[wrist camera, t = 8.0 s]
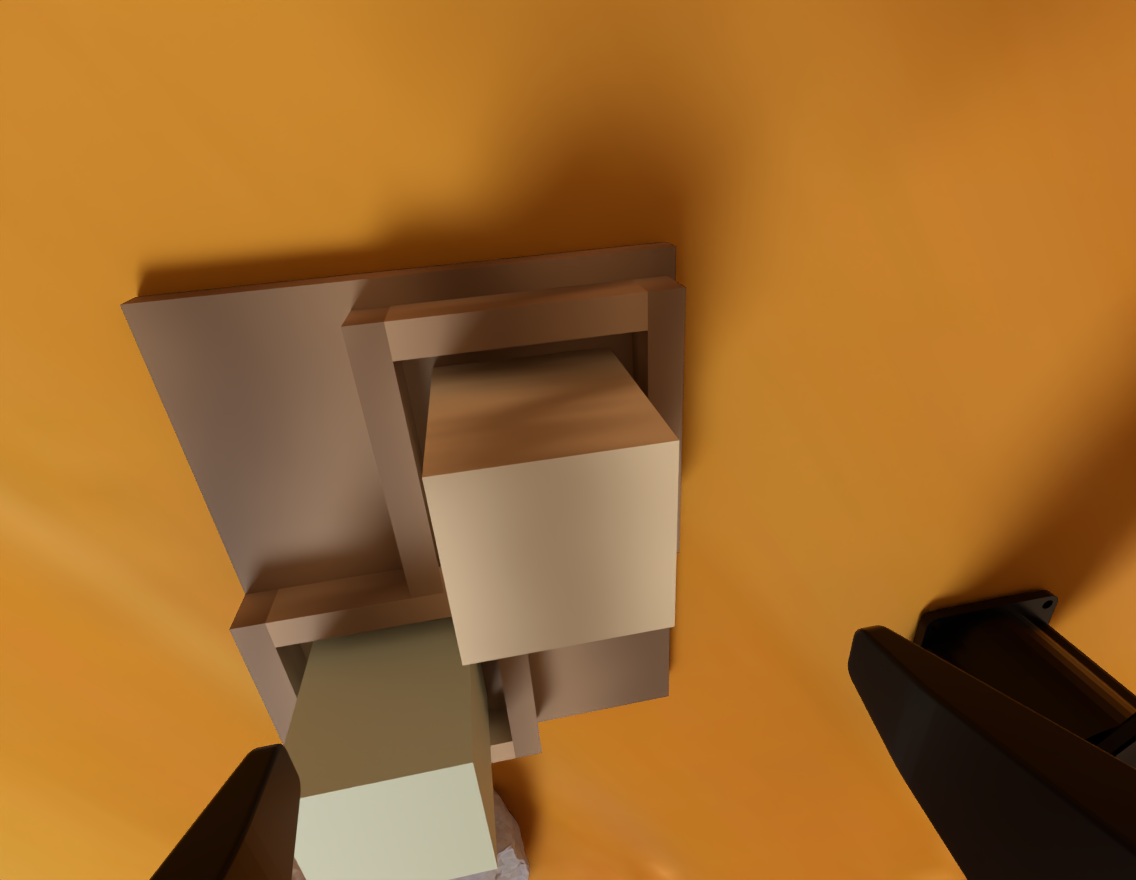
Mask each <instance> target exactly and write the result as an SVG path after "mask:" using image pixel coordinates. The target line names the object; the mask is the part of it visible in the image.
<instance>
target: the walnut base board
mask: <svg viewBox="0 0 1136 880" xmlns="http://www.w3.org/2000/svg"><path fill="white" fill-rule="evenodd" d="M675 275H676V246H674V245H672V244H670V243H668V242H661V243H652V244H642V245H633V246H623V247H613V248H604V249H594V250H584V251H575V252H565V253H555V254H546V255H536V256H527V257H517V258H507V259H498V260H488V261H478V262H469V263H459V264H449V265H440V266H430V267H420V268H411V269H401V270H392V271H382V272H372V273H363V274H353V275H343V276H334V277H324V278H314V279H305V280H295V281H286V282H276V283H266V284H257V285H247V286H237V287H228V288H218V289H208V290H199V291H189V292H179V293H170V294H160V295H151V296H141V297H135V298H133V299H131V300H129V301H127V302H125V303H123V304H121V305H120V306H121V308H122V310H123V313H124V315H125V317H126V320H127V322H128V324H129V327H130V329H131V331H132V333H133V336H134V338H135V340H136V343H137V345H138V347H139V350H140V352H141V354H142V357H143V359H144V361H145V363H146V366H147V368H148V370H149V373H150V375H151V377H152V380H153V382H154V384H155V387H156V389H157V391H158V393H159V396H160V398H161V400H162V403H163V405H164V407H165V410H166V412H167V414H168V417H169V419H170V421H171V424H172V426H173V428H174V430H175V433H176V435H177V437H178V440H179V442H180V444H181V447H182V449H183V451H184V454H185V456H186V458H187V460H188V463H189V465H190V467H191V470H192V472H193V474H194V477H195V479H196V481H197V484H198V486H199V488H200V490H201V493H202V495H203V497H204V500H205V502H206V504H207V507H208V509H209V511H210V514H211V516H212V518H213V520H214V523H215V525H216V527H217V530H218V532H219V534H220V537H221V539H222V541H223V544H224V546H225V548H226V551H227V553H228V555H229V557H230V560H231V562H232V564H233V567H234V569H235V571H236V574H237V576H238V578H239V581H240V583H241V585H242V587H243V590H244V592H245V594H246V595H245V597H244V599H243V601H242V603H241V606H240V608H239V610H238V612H237V614H236V616H235V619H234V621H233V623H232V625H231V627H230V629H229V630H230V632H231V634H232V636H233V638H234V640H235V642H236V645H237V647H238V649H239V651H240V653H241V655H242V657H243V659H244V662H245V664H246V666H247V668H248V670H249V672H250V674H251V677H252V679H253V681H254V683H255V685H256V687H257V689H258V692H259V694H260V696H261V698H262V700H263V702H264V704H265V707H266V709H267V711H268V713H269V715H270V717H271V719H272V722H273V724H274V726H275V728H276V730H277V732H278V734H279V737H280V739H281V741H282V743H283V745H284V743H285V739H286V736H287V732H288V729H289V725H290V722H291V718H292V715H293V711H294V708H295V704H296V701H297V697H298V693H299V690H300V686H301V683H302V679H303V676H304V672H305V669H306V665H307V662H308V658H309V655H310V651H311V647H312V644H313V641H316V640H321V639H327V638H333V637H338V636H344V635H350V634H355V633H361V632H367V631H372V630H378V629H384V628H390V627H395V626H401V625H407V624H412V623H418V622H424V621H429V620H435V619H441V618H446V617H452V614H451V610H450V605H449V600H448V596H447V591H446V587H445V582H444V577H443V573H442V568H441V563H440V559H439V554H438V549H437V545H436V540H435V536H434V531H433V526H432V522H431V517H430V512H429V508H428V503H427V498H426V494H425V489H424V485H423V480H422V472H423V462H424V452H425V441H426V431H427V421H428V410H429V400H430V389H431V379H432V369H433V368H435V367H443V366H452V365H460V364H468V363H476V362H484V361H493V360H501V359H509V358H517V357H525V356H534V355H542V354H550V353H558V352H566V351H575V350H583V349H591V348H599V347H607V346H609V348H610V349H611V350H612V352H613V353H614V354H615V356H616V357H617V358H618V360H619V361H620V362H621V364H622V365H623V366H624V368H625V369H626V370H627V372H628V373H629V374H630V376H631V377H632V378H633V380H634V381H635V382H636V384H637V385H638V386H639V388H640V389H641V390H642V392H643V393H644V394H645V395H646V397H647V398H648V399H649V401H650V402H651V403H652V405H653V406H654V407H655V409H656V410H657V411H658V413H659V414H660V415H661V417H662V418H663V419H664V421H665V422H666V423H667V425H668V426H669V427H670V429H671V430H672V431H673V433H674V434H675V435H676V437H677V438H678V439H679V474H678V513H677V552H676V553H679V538H680V498H681V458H682V418H683V378H684V338H685V298H686V287H684V286H683V285H681V284H679V283H678V282H676V281H675ZM669 635H670V627H669V628H664V629H658V630H653V631H648V632H642V633H637V634H631V635H626V636H620V637H615V638H610V639H604V640H599V641H593V642H588V643H582V644H577V645H572V646H566V647H561V648H555V649H550V650H545V651H539V652H534V653H528V654H523V655H517V656H512V657H507V658H501V659H496V660H490V661H485V662H481V667H482V672H483V677H484V682H485V687H486V692H487V697H488V713H489V730H490V747H491V763H495V762H500V761H504V760H509V759H514V758H519V757H524V756H529V755H533V754H538V753H542V751H541V744H540V737H539V730H538V723H537V722H542V721H547V720H552V719H557V718H562V717H567V716H572V715H577V714H582V713H587V712H592V711H597V710H602V709H607V708H612V707H617V706H622V705H627V704H632V703H636V702H641V701H646V700H651V699H656V698H661V697H666V696H668V695H669Z"/></svg>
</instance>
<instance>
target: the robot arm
mask: <svg viewBox="0 0 1136 880" xmlns="http://www.w3.org/2000/svg"><path fill="white" fill-rule="evenodd" d="M1057 602H1058V598H1057V597H1056V596H1055V595H1054V594H1052V593H1051V592H1050V591H1048V590H1041V591H1035V592H1030V593H1025V594H1020V595H1015V596H1010V597H1005V598H999V599H994V600H989V601H984V602H979V603H974V604H968V605H963V606H958V607H953V608H948V609H943V610H938V611H932V612H930V613H927V614H926V615H924V616H923V617H922V618H921V620H920V623H919V626H918V630H917V633H916V636H915V640H914V643H913V642H911V641H909V640H908V639H906V638H904V637H902V636H901V635H899V634H897V633H895V632H894V631H892V630H890V629H888V628H886V627H884V626H879V625H878V626H871V627H866V628H861V629H858V630H857V631H856V632H855V634H854V638H853V642H852V647H851V651H850V655H849V660H848V670H849V674H850V677H851V679H852V682H853V684H854V685H855V687H856V689H857V691H858V693H859V695H860V697H861V699H862V701H863V703H864V705H865V707H866V709H867V711H868V713H869V715H870V717H871V719H872V721H873V723H874V725H875V726H876V728H877V730H878V732H879V734H880V736H881V738H882V740H883V742H884V744H885V746H886V748H887V750H888V752H889V754H890V756H891V758H892V759H893V761H894V763H895V765H896V767H897V769H898V770H899V772H900V774H901V775H902V777H903V779H904V780H905V782H906V784H907V785H908V787H909V788H910V790H911V792H912V793H913V795H914V796H915V798H916V799H917V801H918V803H919V804H920V806H921V807H922V809H923V810H924V812H925V814H926V815H927V817H928V818H929V820H930V821H931V823H932V825H933V826H934V828H935V829H936V831H937V833H938V834H939V836H940V837H941V839H942V840H943V842H944V844H945V845H946V847H947V848H948V850H949V851H950V853H951V855H952V856H953V858H954V859H955V861H956V862H957V864H958V866H959V867H960V869H961V870H962V872H963V873H964V875H965V877H966V878H967V880H1136V696H1135V695H1134V694H1133V693H1132V692H1130V691H1129V690H1128V689H1127V688H1126V687H1124V686H1123V685H1122V684H1121V683H1119V682H1118V681H1117V680H1116V679H1114V678H1113V677H1112V676H1111V675H1110V674H1108V673H1107V672H1106V671H1105V670H1103V669H1102V668H1101V667H1100V666H1099V665H1097V664H1096V663H1095V662H1094V661H1092V660H1091V659H1090V658H1089V657H1087V656H1086V655H1085V654H1084V653H1083V652H1081V651H1080V650H1079V649H1078V648H1076V647H1075V646H1074V645H1073V644H1071V643H1070V642H1069V641H1068V640H1067V639H1065V638H1064V637H1063V636H1062V635H1060V634H1059V633H1058V632H1057V631H1055V630H1054V629H1053V628H1052V627H1051V626H1049V625H1048V623H1049V621H1050V619H1051V616H1052V614H1053V612H1054V609H1055V607H1056V605H1057ZM300 795H301V784H300V778H299V775H298V773H297V771H296V769H295V767H294V764H293V762H292V760H291V758H290V756H289V754H288V752H287V749H286V748H285V746H283V745H282V744H274V745H269V746H264V747H259V748H256V749H253V750H252V751H251V752H249V753H248V754H247V755H246V757H245V758H244V759H243V761H242V762H241V763H240V764H239V766H238V767H237V768H236V769H235V771H234V772H233V773H232V775H231V776H230V777H229V778H228V780H227V781H226V782H225V784H224V785H223V786H222V787H221V789H220V790H219V791H218V793H217V794H216V795H215V796H214V798H213V799H212V800H211V802H210V803H209V804H208V805H207V807H206V808H205V809H204V810H203V812H202V813H201V814H200V816H199V817H198V818H197V819H196V821H195V822H194V823H193V825H192V826H191V827H190V828H189V830H188V831H187V832H186V834H185V835H184V836H183V837H182V839H181V840H180V841H179V843H178V844H177V845H176V846H175V848H174V849H173V850H172V851H171V853H170V854H169V855H168V857H167V858H166V859H165V860H164V862H163V863H162V864H161V866H160V867H159V868H158V869H157V871H156V872H155V873H154V875H153V876H152V877H151V878H150V880H292V872H293V862H294V853H295V843H296V834H297V824H298V815H299V805H300Z"/></svg>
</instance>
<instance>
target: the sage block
mask: <svg viewBox="0 0 1136 880" xmlns="http://www.w3.org/2000/svg"><path fill="white" fill-rule="evenodd" d="M284 746H285V748H286V749H287V752H288V754H289V756H290V758H291V760H292V762H293V764H294V767H295V769H296V771H297V773H298V775H299V778H300V784H301V795H300V805H299V815H298V824H297V834H296V843H295V853H294V857H295V859H296V861H297V863H298V865H299V867H300V869H301V871H302V872H303V874H304V876H305V878H306V880H450V879H455V878H459V877H463V876H468V875H472V874H476V873H481V872H485V871H489V870H494V869H498V864H497V848H496V831H495V814H494V797H493V780H492V764H491V747H490V730H489V713H488V697H487V692H486V687H485V682H484V677H483V672H482V667H481V662H479V663H474V664H469V665H462V661H461V656H460V651H459V647H458V642H457V638H456V633H455V628H454V624H453V619H452V617H446V618H441V619H435V620H429V621H424V622H418V623H412V624H407V625H401V626H395V627H390V628H384V629H378V630H372V631H367V632H361V633H355V634H350V635H344V636H338V637H333V638H327V639H321V640H316V641H313V644H312V647H311V651H310V655H309V658H308V662H307V665H306V669H305V672H304V676H303V679H302V683H301V686H300V690H299V693H298V697H297V701H296V704H295V708H294V711H293V715H292V718H291V722H290V725H289V729H288V732H287V736H286V739H285V743H284Z"/></svg>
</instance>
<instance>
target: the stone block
mask: <svg viewBox="0 0 1136 880" xmlns="http://www.w3.org/2000/svg"><path fill="white" fill-rule="evenodd" d="M493 797H494V814H495V831H496V848H497V864H498V869H494V870H489V871H485V872H481V873H476V874H472V875H468V876H463V877H459V878H455V879H450V880H528V877H529V862H528V859H527V857H526V855H525V851H524V844H523V841H522V838H521V832H520V828H519V826H518V823H517V822H516V820H515V818H514V817H513V816H512V815H511V814H510V813H509V811H508V809H507V807H506V805H505V804H504V802H503V801H502V799H501V797H500V796H499V795H498V793H497V792H496V791H495V790H494V789H493ZM292 880H306V878H305V876H304V874H303V872H302V871H301V869H300V867H299V865H298V863H297V861H296V859H295V857H294V862H293V872H292Z"/></svg>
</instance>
